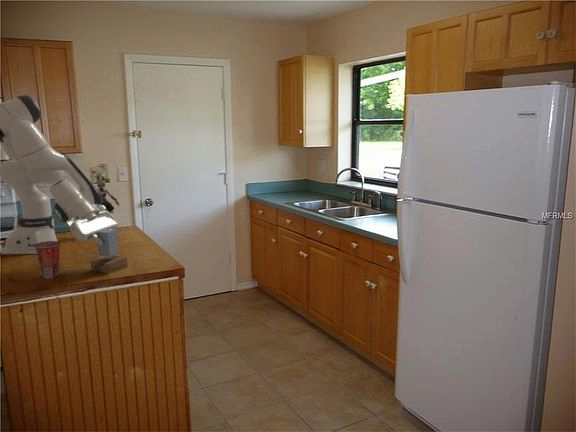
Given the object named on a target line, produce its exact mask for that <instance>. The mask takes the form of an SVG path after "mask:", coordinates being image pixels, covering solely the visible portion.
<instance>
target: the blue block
mask: <svg viewBox="0 0 576 432" xmlns="http://www.w3.org/2000/svg"><path fill="white" fill-rule="evenodd" d="M97 237H98V238H100V239H103V240H104V241H105V244H104V245H102V246H100V245H99V244H98V243H97V249H98V250H97V253H98V256H101V257H104V256H112V255H114V256H116V255H117V254H119V253H120V252H119V241H118V240H119V238H118V230H117V229H115V230H114V229H106V230H103V231H100V232H98V233H97Z"/></svg>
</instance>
